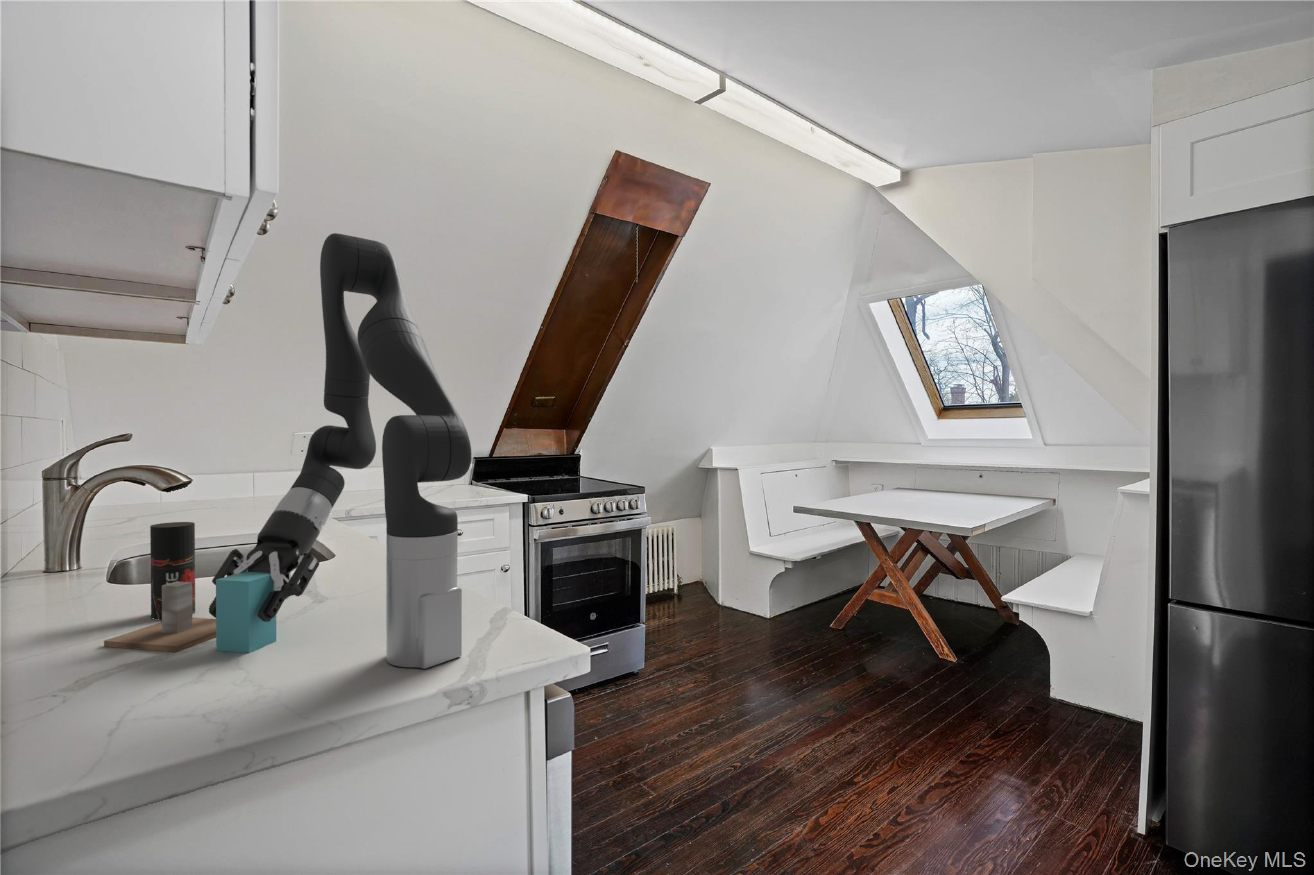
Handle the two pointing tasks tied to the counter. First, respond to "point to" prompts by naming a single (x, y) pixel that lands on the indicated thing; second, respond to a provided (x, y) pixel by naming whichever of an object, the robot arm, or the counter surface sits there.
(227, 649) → the teal block
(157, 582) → the deodorant
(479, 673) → the counter surface
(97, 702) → the counter surface
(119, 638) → the post board
